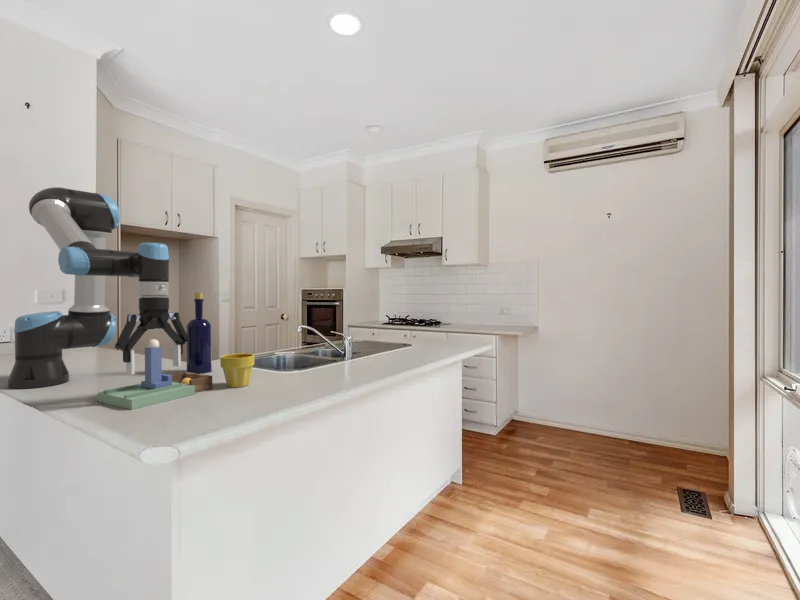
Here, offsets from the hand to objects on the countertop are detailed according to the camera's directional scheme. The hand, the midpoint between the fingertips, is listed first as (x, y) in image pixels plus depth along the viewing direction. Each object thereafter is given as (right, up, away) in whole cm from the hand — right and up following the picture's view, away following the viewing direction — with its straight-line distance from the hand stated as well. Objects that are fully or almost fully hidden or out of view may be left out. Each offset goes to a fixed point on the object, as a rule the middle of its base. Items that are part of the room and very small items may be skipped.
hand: (154, 369), depth 119 cm
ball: (+5, -6, +9) cm, 12 cm away
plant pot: (+19, -8, +14) cm, 25 cm away
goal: (+5, -7, +10) cm, 13 cm away
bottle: (-5, -7, +36) cm, 37 cm away
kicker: (0, -5, 0) cm, 5 cm away
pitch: (-1, -8, -2) cm, 8 cm away
